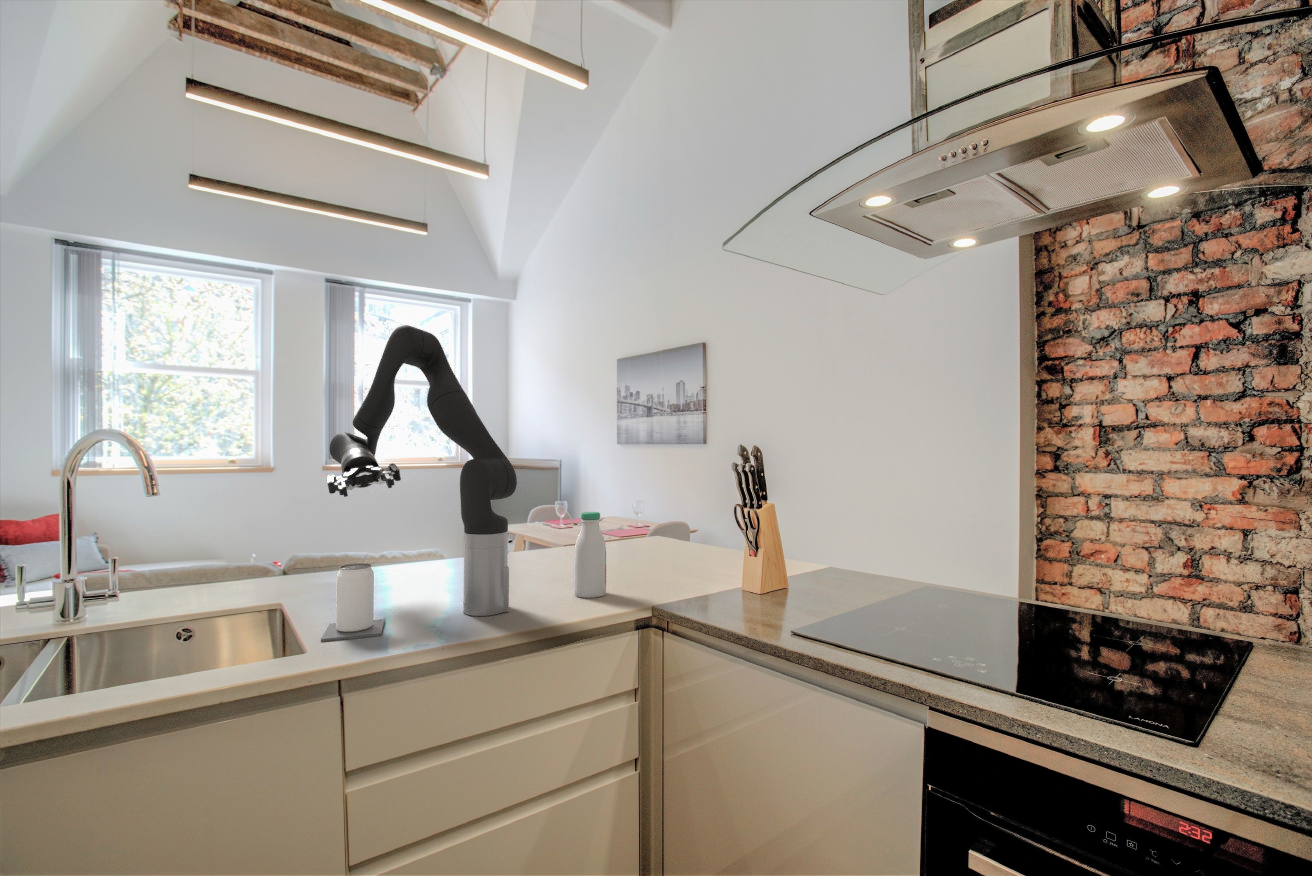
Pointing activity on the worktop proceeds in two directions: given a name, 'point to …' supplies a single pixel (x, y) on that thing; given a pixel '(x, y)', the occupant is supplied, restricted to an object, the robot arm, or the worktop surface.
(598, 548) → the milk bottle
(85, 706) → the worktop surface
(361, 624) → the can
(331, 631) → the coaster
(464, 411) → the robot arm
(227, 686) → the worktop surface
